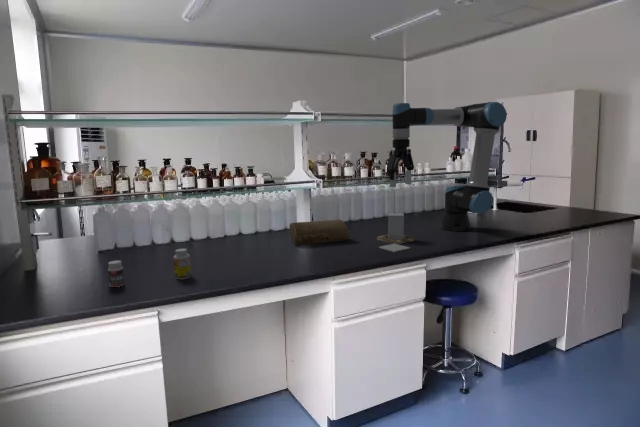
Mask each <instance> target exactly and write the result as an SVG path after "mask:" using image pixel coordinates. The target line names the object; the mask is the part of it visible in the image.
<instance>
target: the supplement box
mask: <svg viewBox="0 0 640 427" xmlns="http://www.w3.org/2000/svg"><path fill="white" fill-rule="evenodd" d="M387 216H388V220H387V222H388V223H387V226H388V227H387V235H388V238H387V239H390V240H394V241H398V240H402V239H404V235H405V213H403V212H399V213H398V212H397V213H396V212H389V213H388V215H387Z"/></svg>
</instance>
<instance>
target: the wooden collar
mask: <svg viewBox="0 0 640 427" xmlns="http://www.w3.org/2000/svg"><path fill="white" fill-rule="evenodd" d="M376 240H377V241H380V242H385V243H389V244H398V245H401V244H404V243H409V242H414V241H416V237H415V236H411V235H405V234H404V238H403V239H402V240H398V241H394V240H390V239H388V234H384V235H383V234H382V235H380V236H376Z"/></svg>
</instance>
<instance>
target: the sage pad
mask: <svg viewBox="0 0 640 427" xmlns="http://www.w3.org/2000/svg"><path fill="white" fill-rule="evenodd" d="M378 248H379V249H382V250H385V251H389V252H392V253H396V252H402V251H405V250H410V249H411V247H410V246H407V245H401V244H392V243H389V244H385V245H381V246H378Z"/></svg>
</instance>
